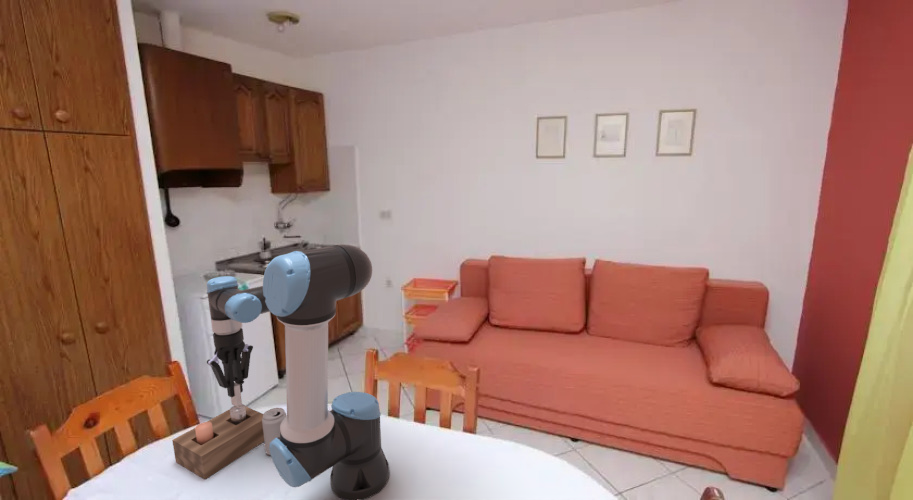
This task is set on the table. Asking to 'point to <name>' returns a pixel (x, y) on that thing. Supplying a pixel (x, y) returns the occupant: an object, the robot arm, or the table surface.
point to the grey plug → (238, 414)
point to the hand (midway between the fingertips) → (236, 404)
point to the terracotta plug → (204, 432)
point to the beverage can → (272, 425)
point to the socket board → (219, 443)
